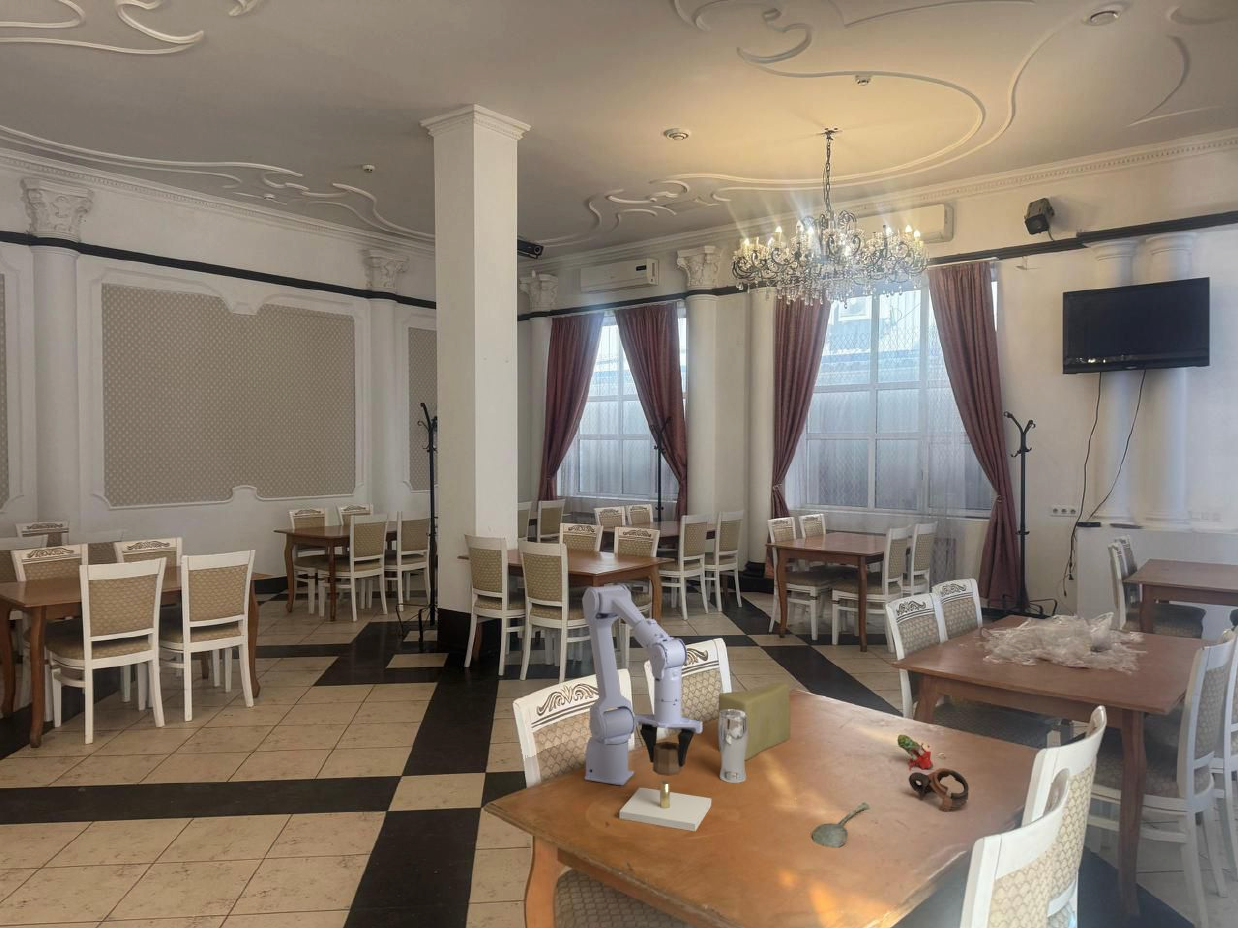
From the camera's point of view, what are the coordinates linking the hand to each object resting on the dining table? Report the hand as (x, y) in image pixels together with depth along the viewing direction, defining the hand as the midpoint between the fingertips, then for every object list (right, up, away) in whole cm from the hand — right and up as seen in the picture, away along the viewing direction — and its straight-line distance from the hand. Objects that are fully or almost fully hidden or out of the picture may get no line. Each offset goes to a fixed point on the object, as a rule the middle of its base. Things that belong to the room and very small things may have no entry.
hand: (667, 762), depth 170 cm
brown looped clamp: (+59, -11, +5) cm, 60 cm away
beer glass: (+16, -10, +18) cm, 26 cm away
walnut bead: (0, -2, 0) cm, 2 cm away
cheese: (+26, -10, +39) cm, 48 cm away
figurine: (+62, -11, +25) cm, 68 cm away
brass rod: (-1, -10, -2) cm, 10 cm away
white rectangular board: (0, -10, -1) cm, 10 cm away
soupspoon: (+36, -11, -7) cm, 38 cm away
